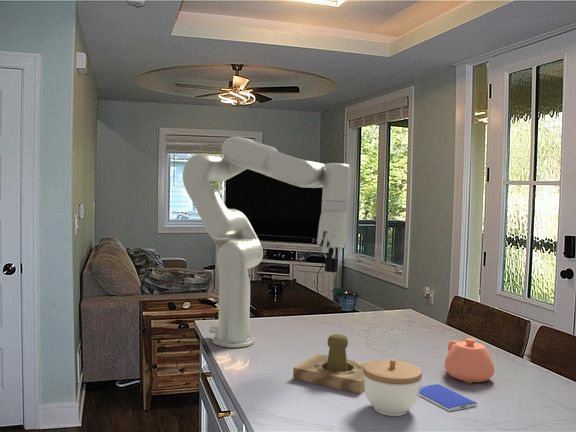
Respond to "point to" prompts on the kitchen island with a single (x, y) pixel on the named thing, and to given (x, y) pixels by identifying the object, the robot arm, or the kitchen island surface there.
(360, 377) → the holder board
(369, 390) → the lidded bowl
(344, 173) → the robot arm
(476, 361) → the sugar bowl
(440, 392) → the hard drive
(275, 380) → the kitchen island surface
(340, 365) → the cork
